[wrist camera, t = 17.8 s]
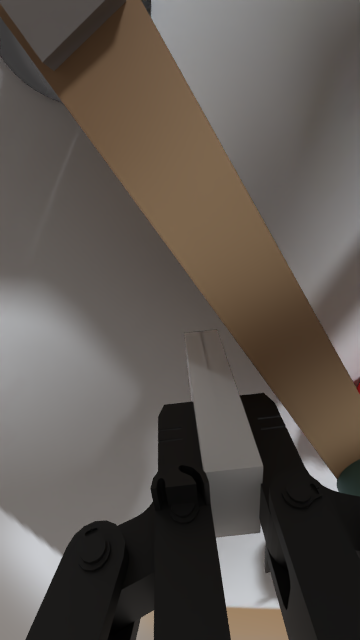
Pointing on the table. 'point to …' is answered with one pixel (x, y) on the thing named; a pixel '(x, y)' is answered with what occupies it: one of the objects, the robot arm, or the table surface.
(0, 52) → the hinge post
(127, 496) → the table surface
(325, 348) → the gate
